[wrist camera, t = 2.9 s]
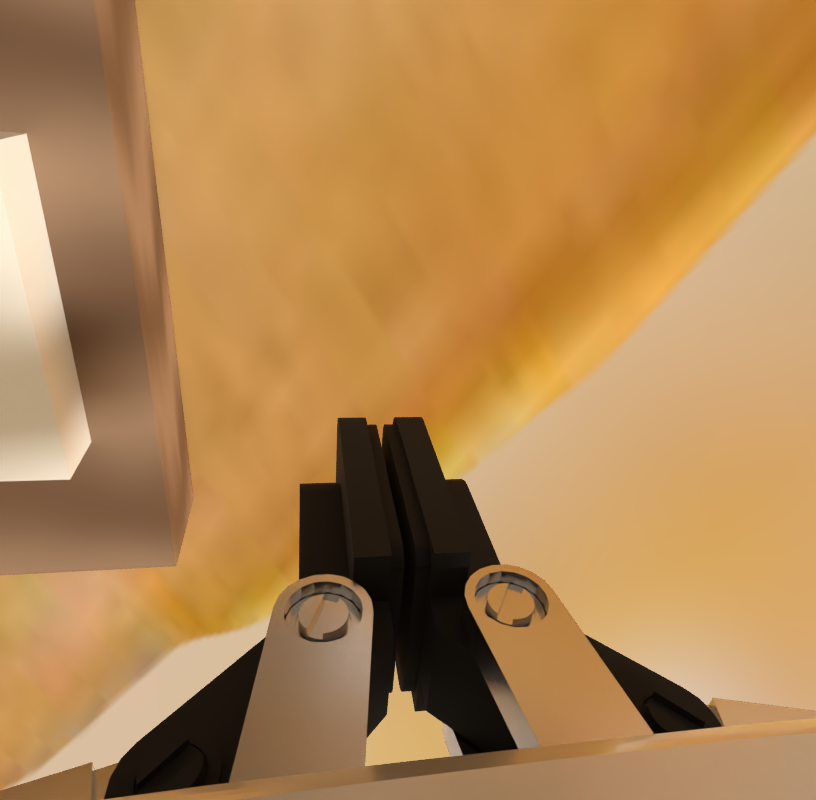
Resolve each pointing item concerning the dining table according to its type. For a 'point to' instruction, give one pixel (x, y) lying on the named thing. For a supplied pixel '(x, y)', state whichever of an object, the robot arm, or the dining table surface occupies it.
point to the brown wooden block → (98, 291)
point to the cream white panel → (33, 336)
